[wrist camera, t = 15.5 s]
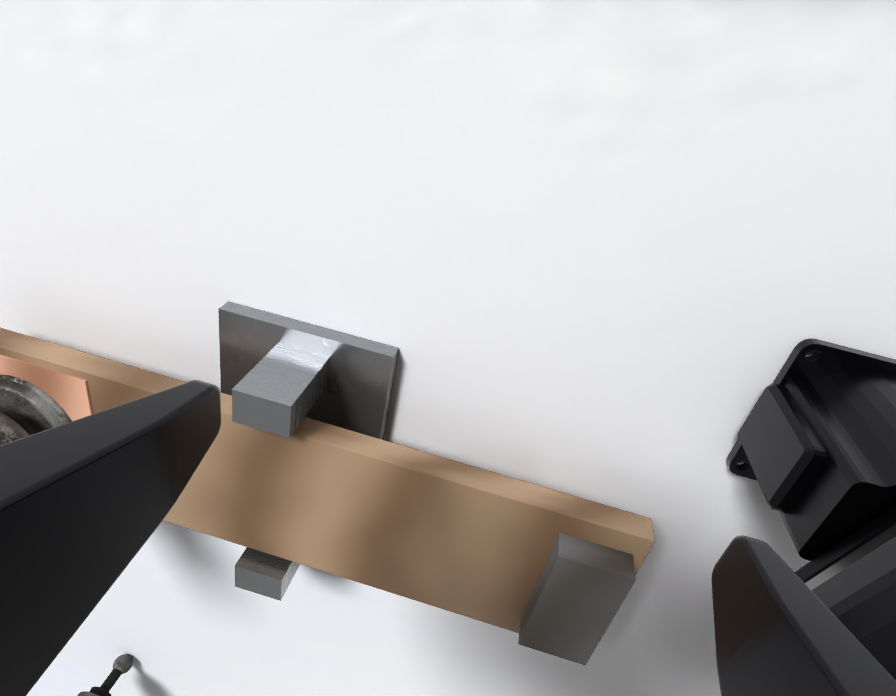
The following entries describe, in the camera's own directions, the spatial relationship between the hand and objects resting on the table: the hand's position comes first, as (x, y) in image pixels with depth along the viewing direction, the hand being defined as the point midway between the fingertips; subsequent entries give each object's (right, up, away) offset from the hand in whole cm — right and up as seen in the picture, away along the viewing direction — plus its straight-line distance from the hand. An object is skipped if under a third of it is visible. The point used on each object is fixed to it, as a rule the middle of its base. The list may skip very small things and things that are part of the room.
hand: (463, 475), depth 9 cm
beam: (-8, -4, +16) cm, 18 cm away
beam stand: (-8, -3, +18) cm, 20 cm away
